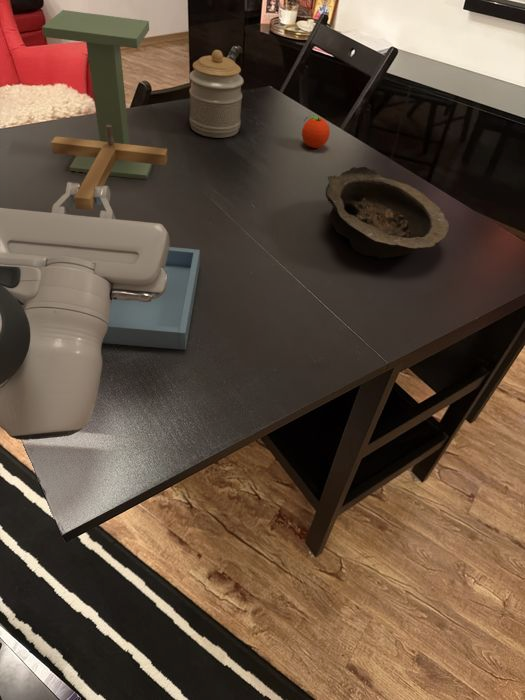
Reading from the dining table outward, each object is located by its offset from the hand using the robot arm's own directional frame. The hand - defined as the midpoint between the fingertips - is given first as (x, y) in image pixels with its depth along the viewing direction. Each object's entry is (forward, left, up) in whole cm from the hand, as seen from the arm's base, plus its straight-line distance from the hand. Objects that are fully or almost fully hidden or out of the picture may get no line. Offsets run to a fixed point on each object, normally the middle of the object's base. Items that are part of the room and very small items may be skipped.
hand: (89, 186), depth 57 cm
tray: (+2, +4, -21) cm, 22 cm away
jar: (+10, +72, -21) cm, 76 cm away
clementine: (+35, +68, -21) cm, 80 cm away
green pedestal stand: (-10, +48, -21) cm, 54 cm away
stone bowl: (+46, +29, -21) cm, 59 cm away
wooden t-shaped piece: (0, +4, -1) cm, 4 cm away
